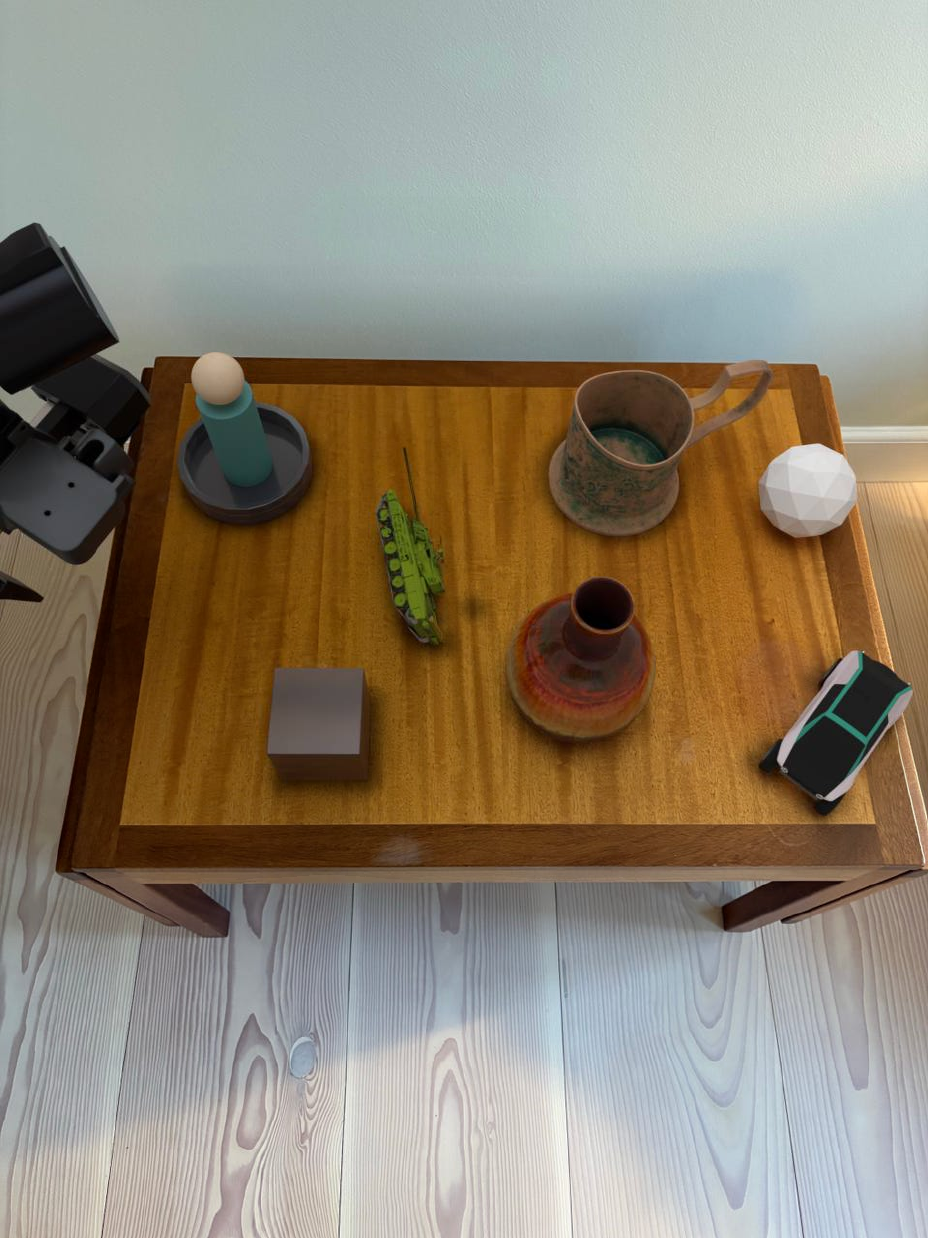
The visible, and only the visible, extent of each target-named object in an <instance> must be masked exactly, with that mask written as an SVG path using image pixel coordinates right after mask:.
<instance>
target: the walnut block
mask: <svg viewBox="0 0 928 1238" xmlns="http://www.w3.org/2000/svg"><path fill="white" fill-rule="evenodd" d="M271 689H272V690H271V698H270V699H271V700H270V710H269V721H268V722H269V723H268V733H267V741H266V756H267V757H268V759H269V760H270V763H271V764H272V765H273V767H274V769H275V771H276V772H277V774H278V775H279V776H280V778H281V780H282V781H290V782H291V781H298V782H301V781H309V782H310V781H311V782H312V781H313V782H315V781H317V782H318V781H319V782H321V781H322V782H323V781H325V782H327V781H328V782H329V781H330V782H333V781H334V782H340V781H341V782H367V781H368V780H369V779H368V778H369V754H370V736H371V735H370V732H371V731H370V730H371V712H372V711H371V710H372V700H371V696H370V690H369V686H368V681H367V675H366V672H365V668H363V667H274V668H273V680H272V688H271Z"/></svg>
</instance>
